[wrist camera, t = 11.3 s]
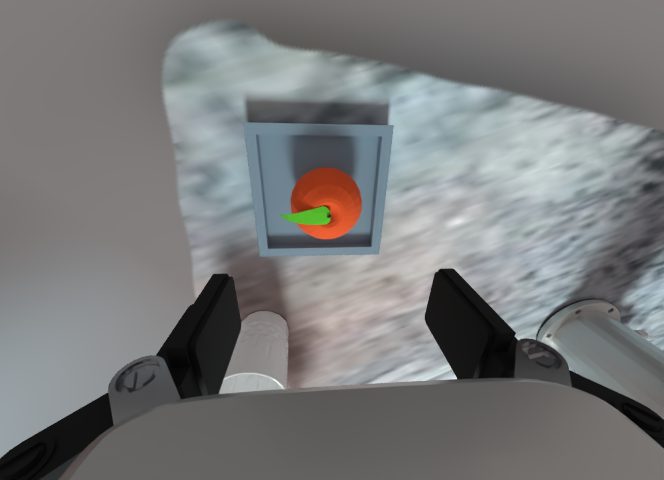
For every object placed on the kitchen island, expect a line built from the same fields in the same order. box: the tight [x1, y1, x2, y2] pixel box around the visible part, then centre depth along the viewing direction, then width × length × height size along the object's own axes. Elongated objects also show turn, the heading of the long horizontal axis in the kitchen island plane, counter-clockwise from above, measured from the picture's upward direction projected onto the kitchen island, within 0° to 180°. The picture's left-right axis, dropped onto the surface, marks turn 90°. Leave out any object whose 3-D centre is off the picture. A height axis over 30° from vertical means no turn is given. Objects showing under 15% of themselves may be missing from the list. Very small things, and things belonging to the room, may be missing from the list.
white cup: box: [219, 311, 289, 394], centre depth 31 cm, size 8×8×10 cm
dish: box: [243, 122, 394, 257], centre depth 27 cm, size 14×14×2 cm
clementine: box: [280, 167, 362, 239], centre depth 24 cm, size 8×7×7 cm
